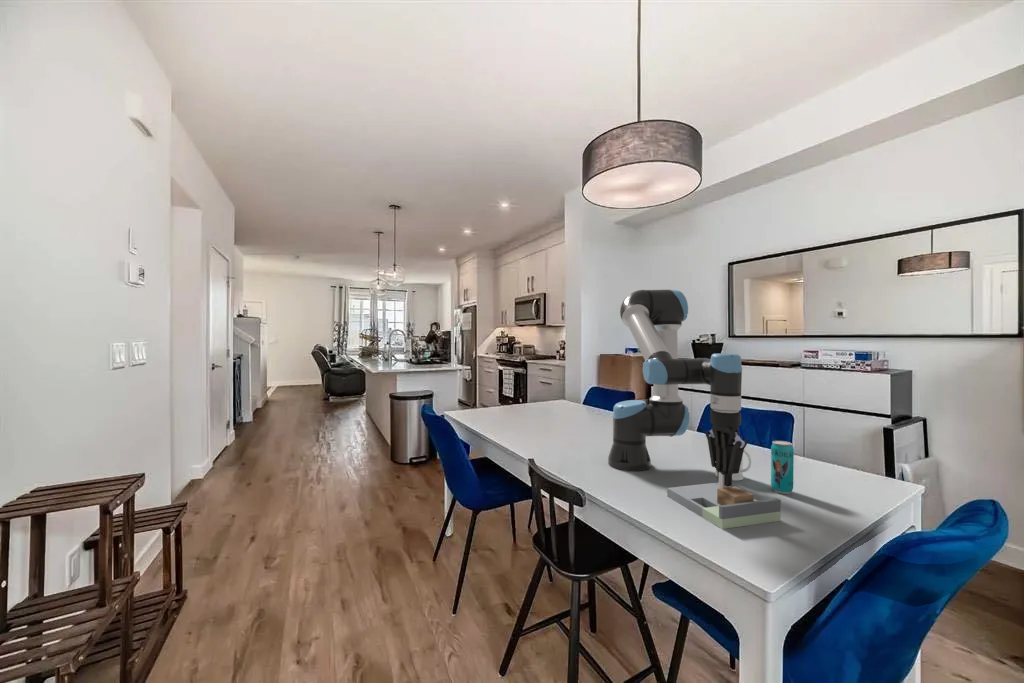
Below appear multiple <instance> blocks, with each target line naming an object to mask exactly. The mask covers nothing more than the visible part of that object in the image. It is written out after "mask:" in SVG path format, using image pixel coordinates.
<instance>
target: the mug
mask: <svg viewBox="0 0 1024 683" xmlns="http://www.w3.org/2000/svg"><path fill="white" fill-rule="evenodd" d="M743 454H745V455H746V457H747V459H748V466H747V467H746V468H744V467H743V466H744V462H743V461H744V459H743V458H744V457H743V456H744V455H743V456H742V460H741V465H740V469H739V473H736V474H732V482H733V481H737V482H738V481H742V480H744V473H745V472H747V471H749V470H750V468H751V465H752V458H751V456H750V454H749V452H748V451H747V450H746V449H745V448H744V451H743ZM714 475H715V477H718V471H717V470H716V469H715V473H714Z"/></svg>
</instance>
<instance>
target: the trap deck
mask: <svg viewBox="0 0 1024 683" xmlns="http://www.w3.org/2000/svg"><path fill="white" fill-rule="evenodd" d="M718 488H719V482H718V481H717V482H710V483H702V484H700V483H699V484H691V485H690V484H689V485H685V486H683V485H681V486H674V487H673V486H671V487H667V488H666V490H667V491H666V496H667V497H668V498H669V499H671V500H673V501H675V502H677V503H678V504H680V505H681V506H683V507H684V508H686V509H688V510H689V511H691V512H693V513H694V514H695V515H697V516H700V517H701V518H702V519H705V520H706V521H708V522H709V523H711V524H713V525H715V526H716V527H717V528H719V529H721V530H723V529H724V530H725V529H731V528H738V527H746V526H752V525H760V524H766V523H773V522H781V513H782V512H781V508H782V507H781V504H782V502H781V501H782V500H781V499H779V498H770V499H761V500H757V499H755V498H754V501H752V502H745V503H737V504H729V505H719V504H718V503H717V489H718Z"/></svg>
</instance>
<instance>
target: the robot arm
mask: <svg viewBox="0 0 1024 683" xmlns="http://www.w3.org/2000/svg"><path fill="white" fill-rule="evenodd" d="M688 314H689V305H688V300H687V297H686V296H685V294H684V293H683V292H682V291H680V290H676V289H638V290H635V291H633V292H631V293H630V294H628V295H627V296H626V297H625V298H624V300H623V301H622V303H621V305H620V310H619V315H620V319H621V321H622V323H623V324H624V325H625V326H626V327H627V328H629V331H630V332H631V336H633V338H634V341H635V343H636V345H637V347H638V349H639V351H640V353H641V355H642V357H643V359H644V362H643V364H642V375H643V380H644V381H645V383H647V384H648V385H653V395H652V396H651V397H649V404H648V403H646V401H645V400H642V399H630V400H623V401H619V402H617V403H615V404H614V405H613V409H612V410H613V412H612V445H611V448H610V451H609V453H608V458H607V463H608V465H609V466H610V467H612V468H615V469H618V470H623V471H633V472H635V471H645V470H648V469H650V468H651V467H652V465H651V463H652V462H651V461H652V460H651V458H650V457H651V456H650V454H649V451H648V448H647V443H646V442H647V441H646V438H647V437H679V436H682V435H684V434H685V433H686V432H687V430H688V428H689V425H690V412H689V407H688V406H687V405H686V404H684V403H683V400H684V399H683V398H681V397H680V396H679V385H707V386H710V387H709V388H710V391H709V393H710V397H709V398H710V399H709V400H710V401H709V402H710V403H709V404H710V406H709V407H710V408H711V410H710V411H709V423H711V424H712V426H711V429H710V430H706V431H705V432H704V435H705V437H706V439H707V445H708V451H709V458H710V464H711V467H712V468H715V471H716V470H717V471H718V477H717V476H716V477H717V482H718V483H719V488H728V487H733V486H732V485H733V481H732V474H736V473H739V469H740V465H741V460H742V456H744V452H743V451H744V449H745V448H746V447H747V445H748V441H747V440H743V439H742V438H741V437H740V435H741V434H740V432H739V427H740V426H741V425H742V413H741V410H742V382H743V381H742V375H743V367H742V357H741V355H739V354H738V353H723V352H722V353H719V352H718V353H712V354H711V356H710V358H707V357H697V358H679V357H678V356H679V355H678V345H679V344H678V330H679V329H680V328H681V327H682V323H683V322H684V321H686V320H687V318H688Z"/></svg>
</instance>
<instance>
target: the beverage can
mask: <svg viewBox="0 0 1024 683" xmlns="http://www.w3.org/2000/svg"><path fill="white" fill-rule="evenodd" d="M794 451H795V450H794V447H793V443H791V442H790V441H786V440H773V441H772V444H771V447H770V485H771V488H772V490H773V492H775V493H777V494H780V495H790V494H791V493H792V491H793V489H794V463H795V462H794V457H795V456H794V454H795V452H794Z"/></svg>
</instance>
